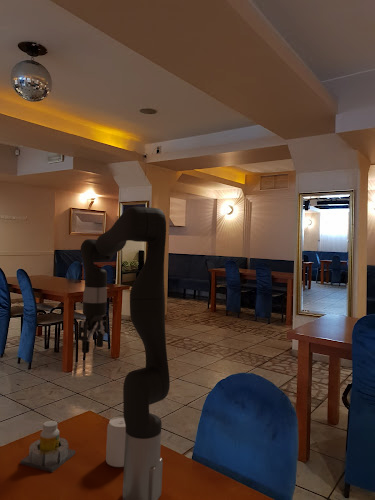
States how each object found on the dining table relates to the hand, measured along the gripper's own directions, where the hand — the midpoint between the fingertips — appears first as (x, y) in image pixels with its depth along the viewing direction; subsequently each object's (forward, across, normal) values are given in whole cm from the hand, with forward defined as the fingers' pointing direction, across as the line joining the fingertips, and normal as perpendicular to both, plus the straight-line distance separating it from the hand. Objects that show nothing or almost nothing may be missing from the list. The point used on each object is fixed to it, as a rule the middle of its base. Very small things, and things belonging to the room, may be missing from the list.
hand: (92, 349), depth 130 cm
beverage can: (+30, -7, -15) cm, 35 cm away
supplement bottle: (+29, -14, +5) cm, 33 cm away
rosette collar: (+30, -14, +5) cm, 34 cm away
